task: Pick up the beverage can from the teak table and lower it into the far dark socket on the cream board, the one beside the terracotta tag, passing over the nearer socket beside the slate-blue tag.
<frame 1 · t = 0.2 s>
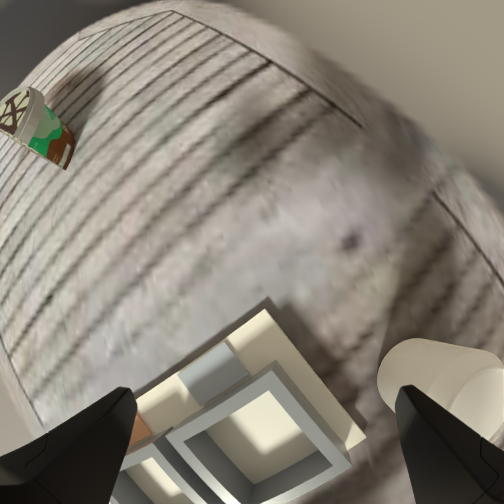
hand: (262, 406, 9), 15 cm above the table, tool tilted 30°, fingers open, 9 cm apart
socket board: (204, 447, 22), on the table
beverage can: (407, 372, 21), on the table
food container: (61, 141, 32), on the table
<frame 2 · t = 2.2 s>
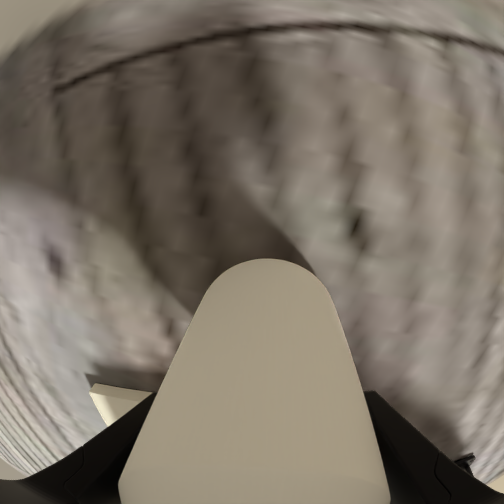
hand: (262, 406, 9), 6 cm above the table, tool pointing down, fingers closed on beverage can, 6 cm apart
socket board: (216, 482, 20), on the table
beverage can: (267, 310, 14), on the table, touching gripper
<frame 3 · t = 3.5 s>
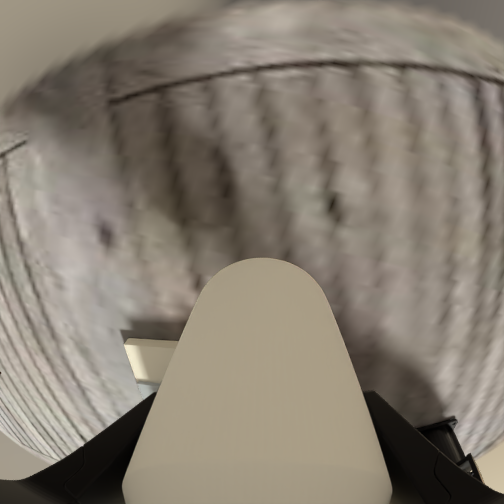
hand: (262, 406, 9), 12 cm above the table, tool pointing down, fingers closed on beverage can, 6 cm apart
socket board: (226, 434, 26), on the table
beverage can: (262, 309, 15), point 6 cm above the table, touching gripper
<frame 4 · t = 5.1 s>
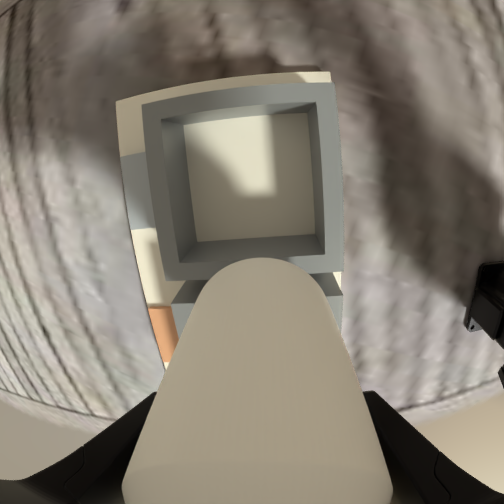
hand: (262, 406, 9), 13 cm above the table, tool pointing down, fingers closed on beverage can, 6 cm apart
socket board: (236, 259, 21), on the table
beverage can: (262, 309, 15), point 7 cm above the table, touching gripper
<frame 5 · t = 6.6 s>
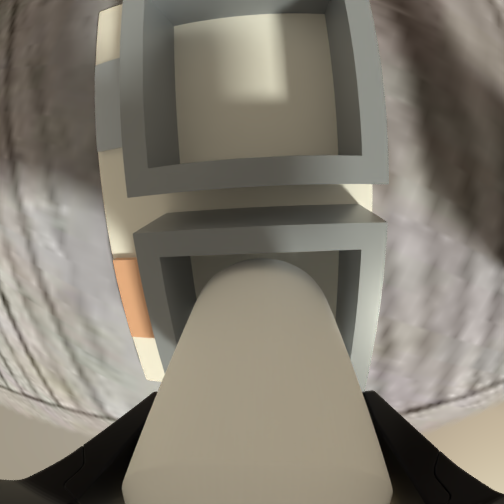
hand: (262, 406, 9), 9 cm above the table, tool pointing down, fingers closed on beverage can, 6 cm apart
socket board: (231, 191, 15), on the table
beverage can: (262, 310, 15), point 2 cm above the table, touching gripper
when the fingers open (7 cm above the table, at t = 7.8 s): beverage can stays where it is, resting on socket board.
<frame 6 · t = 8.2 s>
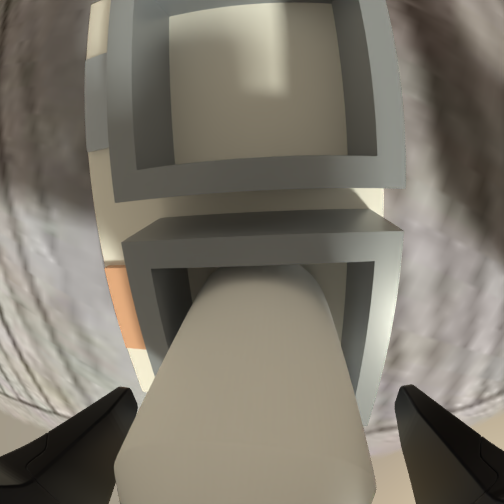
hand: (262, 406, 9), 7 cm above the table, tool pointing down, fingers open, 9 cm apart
socket board: (231, 194, 14), on the table
beverage can: (262, 305, 15), point 1 cm above the table, touching socket board
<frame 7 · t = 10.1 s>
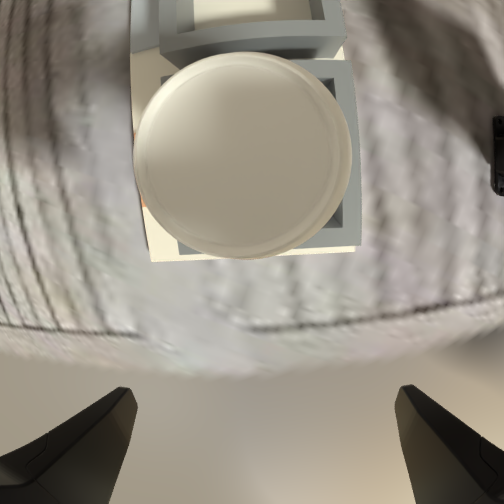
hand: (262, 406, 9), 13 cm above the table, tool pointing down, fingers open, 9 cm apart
socket board: (235, 76, 17), on the table
beverage can: (260, 154, 18), point 1 cm above the table, touching socket board
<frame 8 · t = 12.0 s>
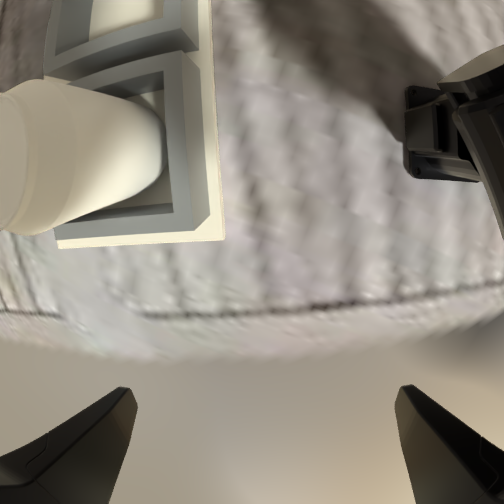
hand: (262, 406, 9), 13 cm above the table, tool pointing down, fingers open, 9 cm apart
socket board: (119, 81, 17), on the table
beverage can: (132, 149, 18), point 1 cm above the table, touching socket board
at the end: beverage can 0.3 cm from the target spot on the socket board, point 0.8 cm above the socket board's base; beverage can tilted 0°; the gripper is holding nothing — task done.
